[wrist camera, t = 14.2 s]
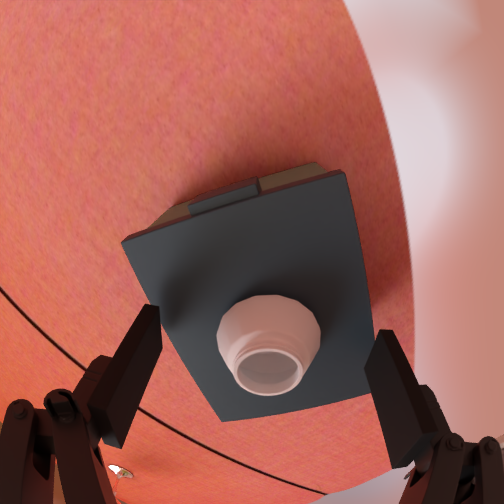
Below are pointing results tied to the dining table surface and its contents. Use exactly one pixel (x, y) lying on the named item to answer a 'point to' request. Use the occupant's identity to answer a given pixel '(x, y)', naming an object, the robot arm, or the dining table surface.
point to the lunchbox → (262, 281)
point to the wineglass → (119, 476)
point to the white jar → (268, 343)
